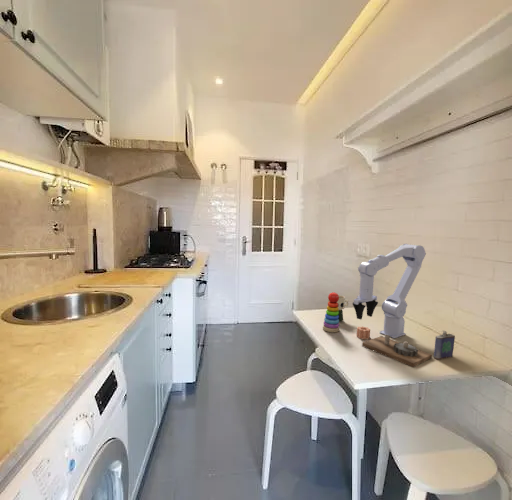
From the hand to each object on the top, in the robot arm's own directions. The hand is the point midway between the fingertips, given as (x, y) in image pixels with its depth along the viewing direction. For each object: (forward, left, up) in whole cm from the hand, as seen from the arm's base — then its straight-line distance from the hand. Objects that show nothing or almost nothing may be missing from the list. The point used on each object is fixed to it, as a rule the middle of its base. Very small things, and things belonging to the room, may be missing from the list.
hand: (364, 317), depth 139 cm
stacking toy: (+6, -14, -10) cm, 18 cm away
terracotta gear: (0, 0, -9) cm, 9 cm away
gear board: (+2, +17, -9) cm, 19 cm away
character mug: (-8, -22, -10) cm, 25 cm away
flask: (-10, +30, -10) cm, 33 cm away
